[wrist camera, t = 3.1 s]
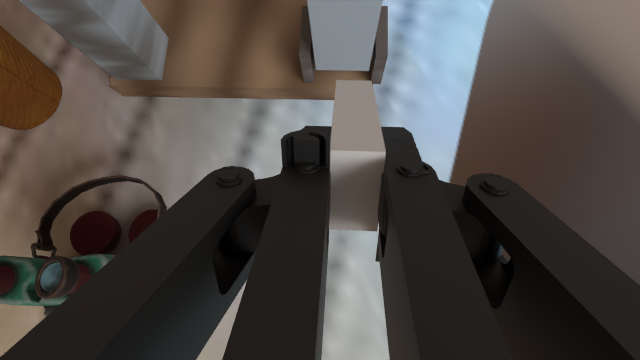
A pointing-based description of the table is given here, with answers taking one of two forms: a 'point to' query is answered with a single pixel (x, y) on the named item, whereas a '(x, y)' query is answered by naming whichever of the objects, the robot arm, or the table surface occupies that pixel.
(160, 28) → the grey block structure
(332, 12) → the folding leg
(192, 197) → the robot arm
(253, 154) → the table surface
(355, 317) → the table surface
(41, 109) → the disposable coffee cup
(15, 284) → the binoculars
